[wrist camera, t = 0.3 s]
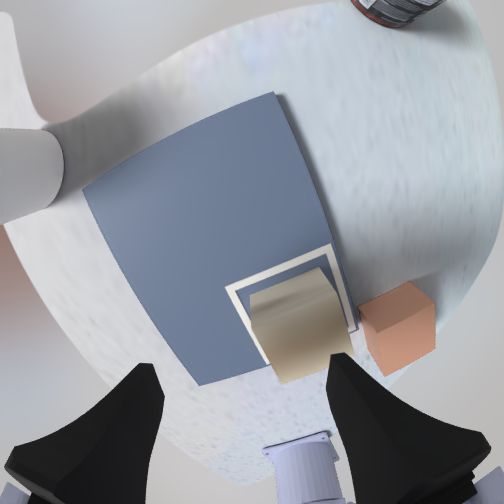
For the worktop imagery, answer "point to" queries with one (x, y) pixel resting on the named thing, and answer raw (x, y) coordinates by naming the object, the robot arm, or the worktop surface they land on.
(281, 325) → the cream block
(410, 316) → the terracotta block
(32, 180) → the can
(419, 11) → the supplement bottle
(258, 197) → the board
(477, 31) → the worktop surface
